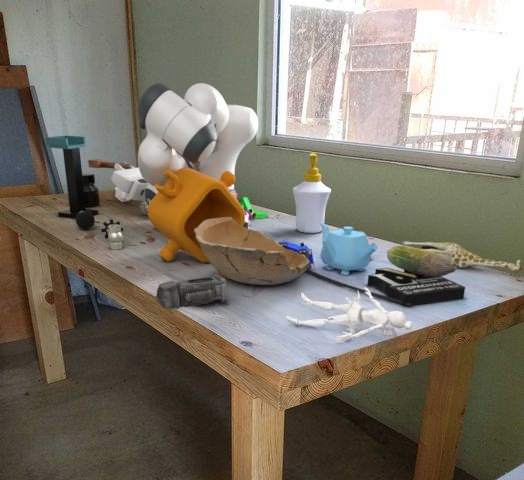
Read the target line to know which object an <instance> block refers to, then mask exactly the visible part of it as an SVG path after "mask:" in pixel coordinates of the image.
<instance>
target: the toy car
mask: <svg viewBox="0 0 524 480" xmlns="http://www.w3.org/2000/svg"><path fill="white" fill-rule="evenodd" d="M277 243H279V244H280V245H281V246H282V247H284V248H286V249H289V250H292V251H294V252H297V253H299V254H303V255H305V256H306V258H307V259H308V260H309V262H310V267H309V268H308V269H309V270H311V269H312V268H314V267H315V263H314V256H313V251H312V248H309V247H308V245H305V244H304V242H300V243H293V242H290V241H287V240H280V241H277Z"/></svg>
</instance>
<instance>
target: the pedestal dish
mask: <svg viewBox="0 0 524 480" xmlns="http://www.w3.org/2000/svg"><path fill="white" fill-rule="evenodd" d="M45 144H46V145H47V146H49V149H62V155H63V163H64V171H65V180H66V189H67V197H68V206H69V209H66V210H61V211H58V212H57V217H59V218H66V219H67V218H68V219H74V220H75V219H76V215H77V214H78V213H79V212H81V211H89V212H90V213H92V215H93V216H94V217H95V216H98V215H99V210H98V209H92V208H87V207H86V205H85V196H84V186H83V177H82V173H83V168H82V159H81V150H80V148H86V137H85V136H81V135H58V136H56V135H55V136H46V137H45Z"/></svg>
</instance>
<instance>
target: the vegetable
mask: <svg viewBox="0 0 524 480" xmlns="http://www.w3.org/2000/svg"><path fill="white" fill-rule="evenodd" d="M386 257H387V260H388V262H389V263H390V264H392V265H393V266H394V267H396V268H398V269H400V270H403V271H404V270H406V271H409V272H412V273H415V274H419V275H427V276H441V277H444V276H448V275H449V274H451V273H454V272H455V271H457V268H458V267H457V265H456V263H454V262H453V261H451V260H450V259H449V258H447V257H445V256H443V255H440V254H438V253H434V252H431V251H427V250H424V249H422V248H418V247H415V246H414V247H413V246H408V245H395V246H392V247H390V248H389V249H388V251H387V252H386Z"/></svg>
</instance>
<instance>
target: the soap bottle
mask: <svg viewBox="0 0 524 480" xmlns="http://www.w3.org/2000/svg"><path fill="white" fill-rule="evenodd" d="M317 163H318V154H316V153H310V154H309V164H310V167H307V172H306V173H304V174H303V181H302V182H301V183H299V184H298V185H295V186H294V187H293V188H292V193H293V197H294V202H295V227H296V230H297V231H298V232H300V233H305V234H318V233H321V232H323V228H322V226H321V224H320V222H321V223H324V224H325V217H326V216H325V215H326V209H327V204H328V201H329V197H330V195H331V193H332V189H331V188H330V187H328V186H326V185H325V184H324V183H323V182H322V174H321V173H319V168H317V167H316V165H317Z"/></svg>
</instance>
